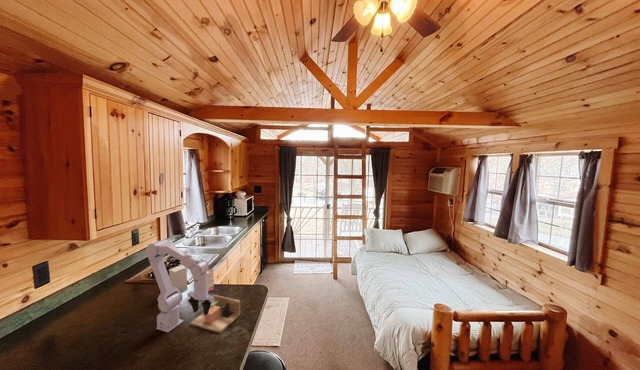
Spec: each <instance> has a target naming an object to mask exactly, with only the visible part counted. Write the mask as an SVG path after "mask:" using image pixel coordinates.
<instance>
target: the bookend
mask: <svg viewBox="0 0 640 370" xmlns="http://www.w3.org/2000/svg"><path fill="white" fill-rule="evenodd" d="M233 313H234V312H232V311H229V303H226V304H225V305H224V306H223V307H221V317H225V318H229V317H230V316H231V315H232V314H233Z"/></svg>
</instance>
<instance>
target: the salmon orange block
mask: <svg viewBox="0 0 640 370" xmlns="http://www.w3.org/2000/svg"><path fill="white" fill-rule="evenodd" d="M220 316H221V307H218V306H213V307H212V308H211V309H209V312H208V314H207V315H205V322H207V323H210V324H212V323H213V322H214V321H215V320H216V319H217V318H219V317H220Z"/></svg>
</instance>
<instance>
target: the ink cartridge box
mask: <svg viewBox="0 0 640 370" xmlns="http://www.w3.org/2000/svg"><path fill="white" fill-rule="evenodd" d="M206 272H207V291H208V293H209V292H211V291H214V290H215V283H214V281H215V279H214V277H215V276H214V269H213V268H209V269H208V271H206Z"/></svg>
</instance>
